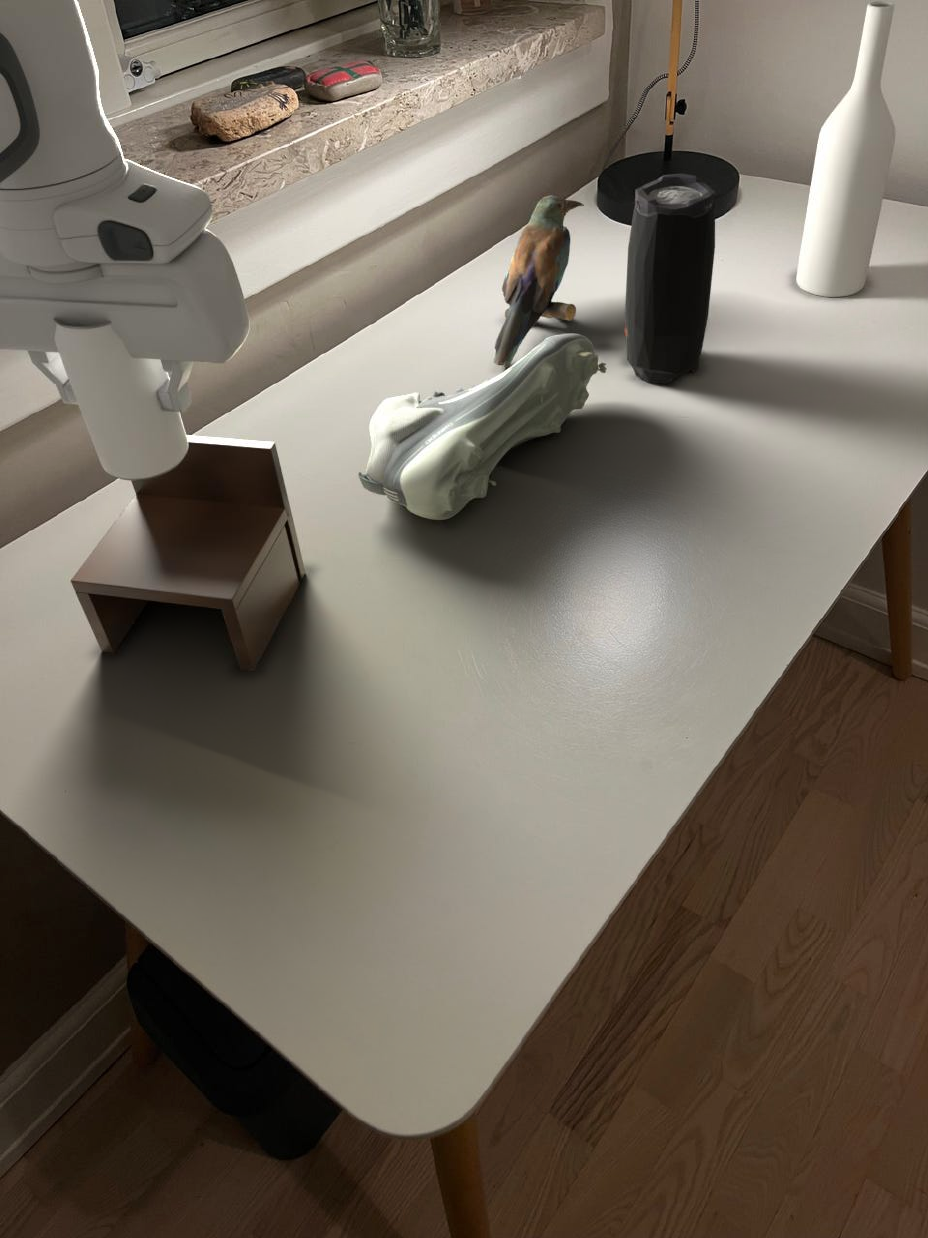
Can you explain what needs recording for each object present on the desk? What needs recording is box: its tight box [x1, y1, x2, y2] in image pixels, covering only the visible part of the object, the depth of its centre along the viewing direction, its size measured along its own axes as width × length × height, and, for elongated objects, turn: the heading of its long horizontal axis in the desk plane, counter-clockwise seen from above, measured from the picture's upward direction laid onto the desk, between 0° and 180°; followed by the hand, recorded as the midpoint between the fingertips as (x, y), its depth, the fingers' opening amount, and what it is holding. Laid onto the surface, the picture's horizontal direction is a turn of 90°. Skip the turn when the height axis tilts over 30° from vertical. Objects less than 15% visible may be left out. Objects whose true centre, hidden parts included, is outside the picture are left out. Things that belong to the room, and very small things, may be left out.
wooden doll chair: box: [70, 434, 306, 672], centre depth 85 cm, size 14×12×14 cm
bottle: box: [795, 0, 896, 298], centre depth 115 cm, size 8×8×30 cm
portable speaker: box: [624, 173, 717, 385], centre depth 107 cm, size 9×9×20 cm
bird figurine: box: [493, 194, 585, 369], centre depth 118 cm, size 13×10×20 cm
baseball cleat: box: [357, 333, 607, 521], centre depth 102 cm, size 10×29×15 cm
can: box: [53, 318, 189, 482], centre depth 72 cm, size 6×6×12 cm
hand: (128, 403), depth 73 cm, fingers closed on can, 6 cm apart
